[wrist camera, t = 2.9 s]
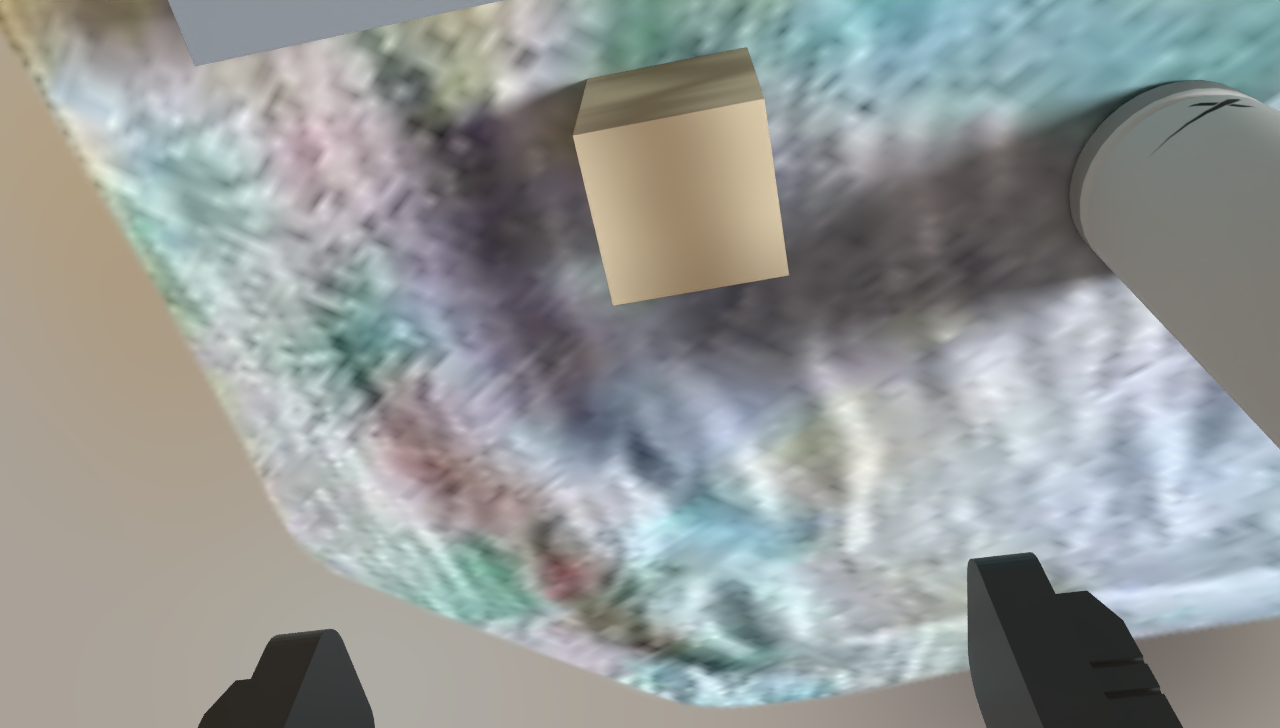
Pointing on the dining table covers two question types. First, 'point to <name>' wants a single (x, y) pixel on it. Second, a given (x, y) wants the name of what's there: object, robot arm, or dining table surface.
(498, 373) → the dining table surface
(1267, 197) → the travel mug
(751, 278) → the oak block
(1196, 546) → the dining table surface
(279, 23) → the tower top
